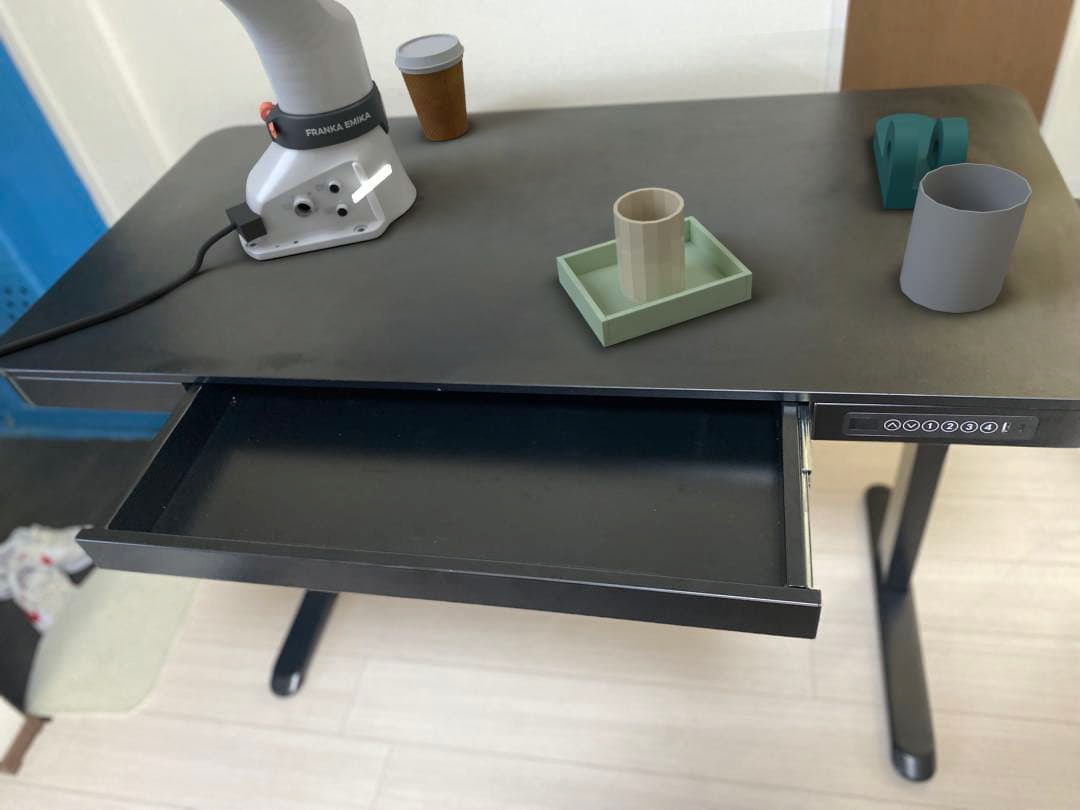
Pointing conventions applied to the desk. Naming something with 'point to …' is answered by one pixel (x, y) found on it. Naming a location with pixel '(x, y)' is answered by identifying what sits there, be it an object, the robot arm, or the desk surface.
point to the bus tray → (616, 319)
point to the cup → (963, 236)
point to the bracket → (915, 153)
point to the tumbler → (650, 244)
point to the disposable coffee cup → (435, 83)
